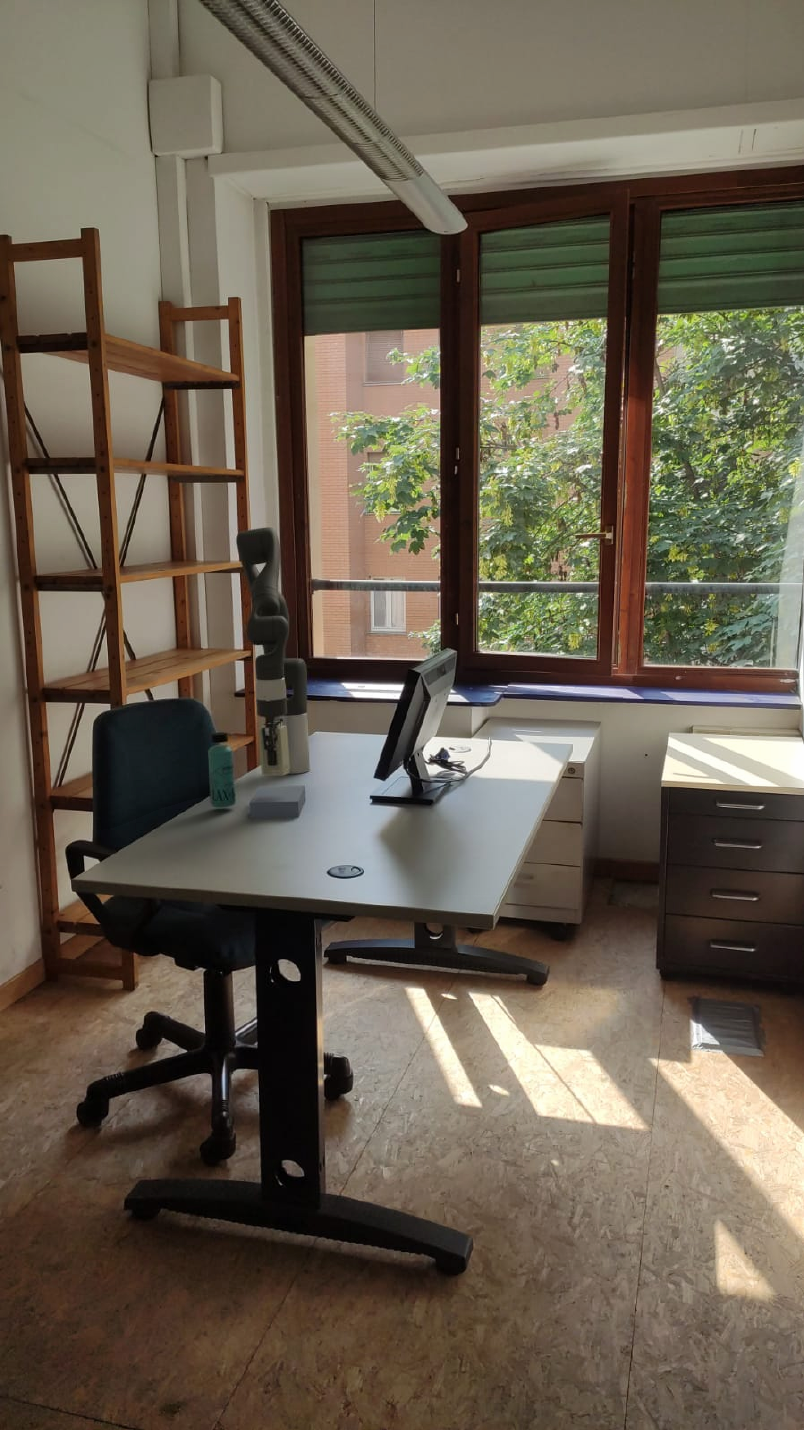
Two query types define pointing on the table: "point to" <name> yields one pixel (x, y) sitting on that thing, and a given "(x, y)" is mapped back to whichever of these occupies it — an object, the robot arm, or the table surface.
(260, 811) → the flat grey slab
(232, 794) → the beverage bottle
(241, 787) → the table surface
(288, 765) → the skincare box
